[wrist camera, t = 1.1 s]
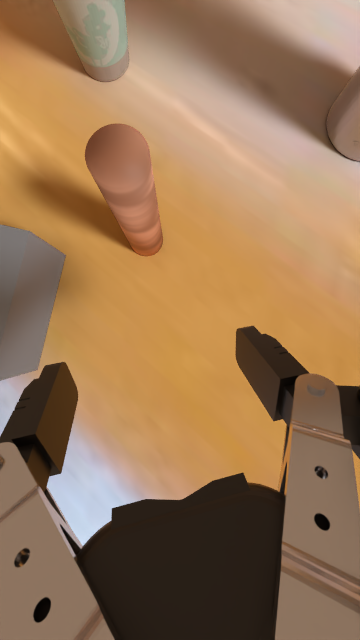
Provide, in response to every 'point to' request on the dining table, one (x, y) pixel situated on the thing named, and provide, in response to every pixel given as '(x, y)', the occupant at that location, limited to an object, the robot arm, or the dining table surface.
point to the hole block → (25, 298)
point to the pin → (127, 183)
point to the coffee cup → (97, 35)
